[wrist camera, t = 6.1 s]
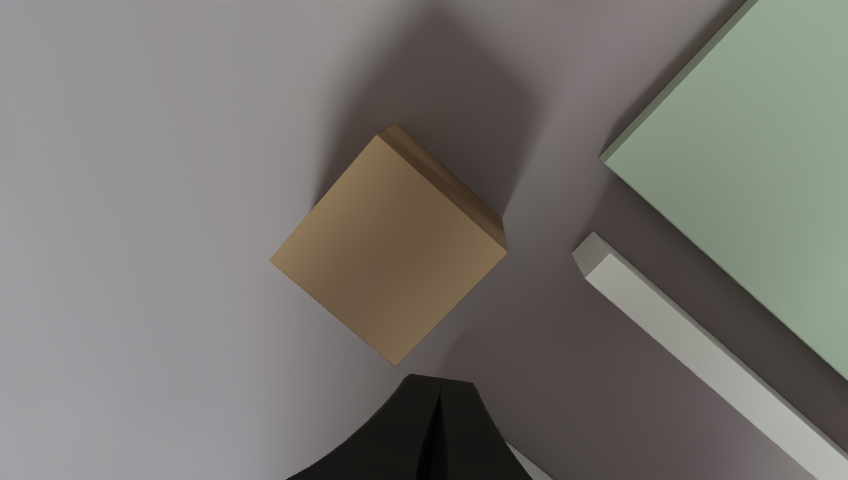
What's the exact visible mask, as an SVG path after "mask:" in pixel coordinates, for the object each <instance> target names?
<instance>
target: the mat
mask: <svg viewBox="0 0 848 480" xmlns="http://www.w3.org/2000/svg"><path fill="white" fill-rule="evenodd" d="M599 159H600V160H601V161H602V162H603V163H604V164H605V165H606V166H608V167H609V168H610V169H611V170H612V171H613V172H614V173H615V174H616V175H618V176H619V177H620V178H621V179H622V180H623V181H624V182H625V183H627V184H628V185H629V186H630V187H631V188H632V189H633V190H634V191H635V192H637V193H638V194H639V195H640V196H641V197H642V198H643V199H644V200H646V201H647V202H648V203H649V204H650V205H651V206H652V207H653V208H654V209H656V210H657V211H658V212H659V213H660V214H661V215H662V216H663V217H665V218H666V219H667V220H668V221H669V222H670V223H671V224H672V225H673V226H675V227H676V228H677V229H678V230H679V231H680V232H681V233H682V234H684V235H685V236H686V237H687V238H688V239H689V240H690V241H691V242H692V243H694V244H695V245H696V246H697V247H698V248H699V249H700V250H701V251H702V252H704V253H705V254H706V255H707V256H708V257H709V258H710V259H711V260H713V261H714V262H715V263H716V264H717V265H718V266H719V267H720V268H721V269H723V270H724V271H725V272H726V273H727V274H728V275H729V276H730V277H732V278H733V279H734V280H735V281H736V282H737V283H738V284H739V285H740V286H742V287H743V288H744V289H745V290H746V291H747V292H748V293H749V294H751V295H752V296H753V297H754V298H755V299H756V300H757V301H758V302H759V303H761V304H762V305H763V306H764V307H765V308H766V309H767V310H768V311H770V312H771V313H772V314H773V315H774V316H775V317H776V318H777V319H778V320H780V321H781V322H782V323H783V324H784V325H785V326H786V327H787V328H788V329H790V330H791V331H792V332H793V333H794V334H795V335H796V336H797V337H799V338H800V339H801V340H802V341H803V342H804V343H805V344H806V345H807V346H809V347H810V348H811V349H812V350H813V351H814V352H815V353H816V354H818V355H819V356H820V357H821V358H822V359H823V360H824V361H825V362H826V363H828V364H829V365H830V366H831V367H832V368H833V369H834V370H835V371H837V372H838V373H839V374H840V375H841V376H842V377H843V378H844V379H845V380H847V381H848V0H747V1H746V2H745V3H744V4H743V5H742V6H741V7H740V8H739V9H738V11H737V12H736V13H735V14H734V15H733V16H732V17H731V18H730V19H729V20H728V21H727V22H726V23H725V24H724V25H723V26H722V28H721V29H720V30H719V31H718V32H717V33H716V34H715V35H714V36H713V37H712V38H711V39H710V40H709V41H708V42H707V43H706V44H705V46H704V47H703V48H702V49H701V50H700V51H699V52H698V53H697V54H696V55H695V56H694V57H693V58H692V59H691V60H690V61H689V62H688V64H687V65H686V66H685V67H684V68H683V69H682V70H681V71H680V72H679V73H678V74H677V75H676V76H675V77H674V78H673V79H672V80H671V82H670V83H669V84H668V85H667V86H666V87H665V88H664V89H663V90H662V91H661V92H660V93H659V94H658V95H657V96H656V97H655V98H654V100H653V101H652V102H651V103H650V104H649V105H648V106H647V107H646V108H645V109H644V110H643V111H642V112H641V113H640V114H639V115H638V117H637V118H636V119H635V120H634V121H633V122H632V123H631V124H630V125H629V126H628V127H627V128H626V129H625V130H624V131H623V132H622V133H621V135H620V136H619V137H618V138H617V139H616V140H615V141H614V142H613V143H612V144H611V145H610V146H609V147H608V148H607V149H606V150H605V151H604V153H603V154H602V155H601V156H600V157H599Z"/></svg>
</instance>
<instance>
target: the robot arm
mask: <svg viewBox="0 0 848 480" xmlns="http://www.w3.org/2000/svg"><path fill="white" fill-rule="evenodd" d="M286 480H533V479H532V478H531V476H530V475H529V474H528V473H527V471H526V470H525V469H524V467H523V466H522V465H521V463H520V462H519V461H518V459H517V458H516V457H515V455H514V454H513V452H512V451H511V449H510V448H509V446H508V445H507V443H506V442H505V440H504V438H503V437H502V435H501V434H500V432H499V430H498V429H497V427H496V426H495V424H494V422H493V420H492V419H491V417H490V415H489V413H488V411H487V409H486V408H485V406H484V404H483V402H482V399H481V397H480V395H479V393H478V390H477V388H476V387H475V386H474V384H473V383H470V382H463V381H456V380H450V379H443V378H436V377H429V376H422V375H415V374H410V375H408V376H407V377H405V378H404V379H403V381H402V383H401V384H400V385H399V387H398V388H397V389H396V391H395V392H394V393H393V394H392V396H391V397H390V398H389V399H388V400H387V401H386V403H385V404H384V405H383V406H382V407H381V408H380V409H379V410H378V411H377V412H376V413H375V414H374V415H373V416H372V417H371V418H370V419H369V420H368V421H367V422H366V423H365V424H364V425H363V426H362V427H360V428H359V429H358V430H357V431H356V432H355V433H354V434H352V435H351V436H350V437H349V438H348V439H347V440H346V441H344V442H343V443H342V444H341V445H339V446H338V447H337V448H335V449H334V450H333V451H331V452H330V453H329V454H327V455H326V456H325V457H323V458H322V459H320V460H319V461H317V462H316V463H314V464H313V465H311V466H310V467H308V468H306V469H304V470H302V471H301V472H299V473H297V474H295V475H293V476H291V477H290V478H288V479H286Z"/></svg>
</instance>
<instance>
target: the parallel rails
mask: <svg viewBox="0 0 848 480" xmlns="http://www.w3.org/2000/svg"><path fill="white" fill-rule="evenodd" d="M571 254H572V256H573V258H574V260H575V262H576V263H577V265H578V267H579V269H580V271H581V273H582V274H583V276H584V278H585V279H586V280H587V281H588V282H589V283H591V284H592V285H593V286H594V287H595V288H596V289H597V290H599V291H600V292H601V293H602V294H603V295H604V296H606V297H607V298H608V299H609V300H610V301H611V302H613V303H614V304H615V305H616V306H617V307H618V308H619V309H621V310H622V311H623V312H624V313H625V314H626V315H628V316H629V317H630V318H631V319H632V320H633V321H635V322H636V323H637V324H638V325H639V326H640V327H641V328H643V329H644V330H645V331H646V332H647V333H648V334H650V335H651V336H652V337H653V338H654V339H655V340H657V341H658V342H659V343H660V344H661V345H662V346H663V347H665V348H666V349H667V350H668V351H669V352H670V353H672V354H673V355H674V356H675V357H676V358H677V359H679V360H680V361H681V362H682V363H683V364H684V365H685V366H687V367H688V368H689V369H690V370H691V371H692V372H694V373H695V374H696V375H697V376H698V377H699V378H701V379H702V380H703V381H704V382H705V383H706V384H707V385H709V386H710V387H711V388H712V389H713V390H714V391H716V392H717V393H718V394H719V395H720V396H721V397H723V398H724V399H725V400H726V401H727V402H728V403H729V404H731V405H732V406H733V407H734V408H735V409H736V410H738V411H739V412H740V413H741V414H742V415H743V416H745V417H746V418H747V419H748V420H749V421H750V422H751V423H753V424H754V425H755V426H756V427H757V428H758V429H760V430H761V431H762V432H763V433H764V434H765V435H767V436H768V437H769V438H770V439H771V440H772V441H773V442H775V443H776V444H777V445H778V446H779V447H780V448H782V449H783V450H784V451H785V452H786V453H787V454H789V455H790V456H791V457H792V458H793V459H794V460H796V461H797V462H798V463H799V464H800V465H801V466H802V467H804V468H805V469H806V470H807V471H808V472H809V473H811V474H812V475H813V476H814V477H815V478H816V479H818V480H848V454H847V453H846V452H845V451H844V450H843V449H841V448H840V447H839V446H838V445H837V444H836V443H835V442H833V441H832V440H831V439H830V438H829V437H828V436H827V435H826V434H824V433H823V432H822V431H821V430H820V429H819V428H818V427H816V426H815V425H814V424H813V423H812V422H811V421H810V420H808V419H807V418H806V417H805V416H804V415H803V414H802V413H800V412H799V411H798V410H797V409H796V408H795V407H794V406H792V405H791V404H790V403H789V402H788V401H787V400H786V399H784V398H783V397H782V396H781V395H780V394H779V393H778V392H776V391H775V390H774V389H773V388H772V387H771V386H770V385H768V384H767V383H766V382H765V381H764V380H763V379H762V378H760V377H759V376H758V375H757V374H756V373H755V372H754V371H753V370H751V369H750V368H749V367H748V366H747V365H746V364H745V363H743V362H742V361H741V360H740V359H739V358H738V357H737V356H735V355H734V354H733V353H732V352H731V351H730V350H729V349H727V348H726V347H725V346H724V345H723V344H722V343H721V342H719V341H718V340H717V339H716V338H715V337H714V336H713V335H711V334H710V333H709V332H708V331H707V330H706V329H705V328H703V327H702V326H701V325H700V324H699V323H698V322H697V321H695V320H694V319H693V318H692V317H691V316H690V315H689V314H687V313H686V312H685V311H684V310H683V309H682V308H681V307H680V306H678V305H677V304H676V303H675V302H674V301H673V300H672V299H670V298H669V297H668V296H667V295H666V294H665V293H664V292H662V291H661V290H660V289H659V288H658V287H657V286H656V285H654V284H653V283H652V282H651V281H650V280H649V279H648V278H646V277H645V276H644V275H643V274H642V273H641V272H640V271H638V270H637V269H636V268H635V267H634V266H633V265H632V264H630V263H629V262H628V261H627V260H626V259H625V258H624V257H622V256H621V255H620V254H619V253H618V252H617V251H616V250H615V249H613V248H612V247H611V246H610V245H609V244H608V243H607V242H605V241H604V240H603V239H602V238H601V237H600V236H599V235H597V234H596V233H595V232H594V231H593V232H592V233H591V234H590V235H589V236H588V237H587V238H586V239H585V240H584V241H583V242H582V243H581V244H580V245H579V246H578V247H577V248H576V249H575V250H574V251H573V252H572V253H571ZM505 442H506V441H505ZM506 443H507V442H506ZM507 445H508V446H509V448H510V449H511V451H512V452H513V454H514V455H515V457H516V458H517V459H518V461H519V462H520V463H521V465H522V466H523V467H524V469H525V470H526V471H527V473H528V474H529V475H530V476H531V478H532V479H533V480H553V479H552V478H551V477H549V476H548V475H547V474H546V473H544V472H543V471H542V470H541V469H539V468H538V467H537V466H536V465H535V464H533V463H532V462H531V461H530V460H528V459H527V458H526V457H525V456H523V455H522V454H521V453H520V452H518V451H517V450H516V449H515V448H514V447H512V446H511V445H510V444H509V443H507Z"/></svg>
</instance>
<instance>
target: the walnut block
mask: <svg viewBox="0 0 848 480" xmlns="http://www.w3.org/2000/svg"><path fill="white" fill-rule="evenodd" d="M507 253H508V250H507V244H506V239H505V233H504V228H503V222H502V218H501V217H500V216H499V215H498V214H497V213H495V212H494V211H493V210H492V209H491V208H490V207H489V206H488V205H487V204H485V203H484V202H483V201H482V200H481V199H480V198H479V197H478V196H477V195H476V194H474V193H473V192H472V191H471V190H470V189H469V188H468V187H467V186H466V185H464V184H463V183H462V182H461V181H460V180H459V179H458V178H457V177H456V176H455V175H453V174H452V173H451V172H450V171H449V170H448V169H447V168H446V167H445V166H443V165H442V164H441V163H440V162H439V161H438V160H437V159H436V158H435V157H433V156H432V155H431V154H430V153H429V152H428V151H427V150H426V149H425V148H424V147H422V146H421V145H420V144H419V143H418V142H417V141H416V140H415V139H414V138H412V137H411V136H410V135H409V134H408V133H407V132H406V131H405V130H404V129H403V128H401V127H400V126H399V125H398V124H397V123H395V124H394V125H392V126H390V127H388V128H387V129H385V130H383V131H382V132H380V133H378V134H376V136H375V137H374V138H373V139H372V140H371V141H370V143H369V144H368V145H367V146H366V147H365V148H364V150H363V151H362V152H361V153H360V154H359V155H358V157H357V158H356V159H355V160H354V161H353V162H352V164H351V165H350V166H349V167H348V168H347V169H346V171H345V172H344V173H343V174H342V175H341V177H340V178H339V179H338V180H337V181H336V182H335V184H334V185H333V186H332V187H331V188H330V189H329V191H328V192H327V193H326V194H325V195H324V196H323V198H322V199H321V200H320V201H319V202H318V203H317V205H316V206H315V207H314V208H313V209H312V210H311V212H310V213H309V214H308V215H307V216H306V217H305V219H304V220H303V221H302V222H301V223H300V225H299V226H298V227H297V228H296V229H295V230H294V232H293V233H292V234H291V235H290V236H289V237H288V239H287V240H286V241H285V242H284V243H283V244H282V246H281V247H280V248H279V249H278V250H277V251H276V253H275V254H274V255H273V256H272V257H271V258H270V260H269V261H270V262H271V263H272V264H273V265H275V266H276V267H277V268H278V269H279V270H281V271H282V272H283V273H284V274H285V275H286V276H288V277H289V278H290V279H291V280H292V281H294V282H295V283H296V284H297V285H298V286H300V287H301V288H302V289H303V290H304V291H305V292H307V293H308V294H309V295H310V296H311V297H313V298H314V299H315V300H316V301H317V302H319V303H320V304H321V305H322V306H323V307H324V308H326V309H327V310H328V311H329V312H330V313H332V314H333V315H334V316H335V317H336V318H338V319H339V320H340V321H341V322H342V323H343V324H345V325H346V326H347V327H348V328H349V329H351V330H352V331H353V332H354V333H355V334H356V335H358V336H359V337H360V338H361V339H362V340H364V341H365V342H366V343H367V344H368V345H370V346H371V347H372V348H373V349H374V350H375V351H377V352H378V353H379V354H380V355H381V356H383V357H384V358H385V359H386V360H387V361H389V362H390V363H391V364H392V365H393V366H394V367H395V366H396V365H397V364H398V363H399V362H400V361H401V360H402V359H403V358H404V357H405V356H406V355H407V354H408V353H409V352H410V351H411V350H412V349H413V348H414V347H415V346H416V345H417V344H418V343H419V342H420V341H421V340H422V339H423V338H424V337H425V336H426V335H427V334H428V333H429V332H430V331H431V330H432V329H433V328H434V327H435V326H436V325H437V324H438V323H439V322H440V321H441V320H442V319H443V318H444V317H445V316H446V315H447V314H448V313H449V312H450V311H451V310H452V309H453V308H454V306H455V305H456V304H457V303H458V302H459V301H460V300H461V299H462V298H463V297H464V296H465V295H466V294H467V293H468V292H469V291H470V290H471V289H472V288H473V287H474V286H475V285H476V284H477V283H478V282H479V281H480V280H481V279H482V278H483V277H484V276H485V275H486V274H487V273H488V272H489V271H490V270H491V269H492V268H493V267H494V266H495V265H496V264H497V263H498V262H499V261H500V260H501V259H502V258H503V257H504V256H505V255H506V254H507Z"/></svg>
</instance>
